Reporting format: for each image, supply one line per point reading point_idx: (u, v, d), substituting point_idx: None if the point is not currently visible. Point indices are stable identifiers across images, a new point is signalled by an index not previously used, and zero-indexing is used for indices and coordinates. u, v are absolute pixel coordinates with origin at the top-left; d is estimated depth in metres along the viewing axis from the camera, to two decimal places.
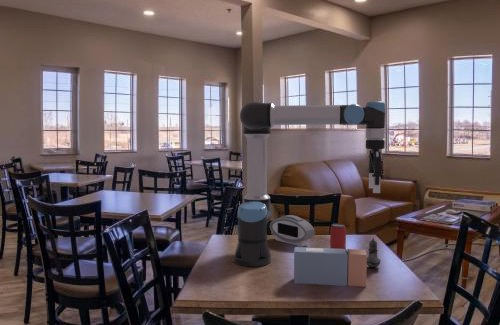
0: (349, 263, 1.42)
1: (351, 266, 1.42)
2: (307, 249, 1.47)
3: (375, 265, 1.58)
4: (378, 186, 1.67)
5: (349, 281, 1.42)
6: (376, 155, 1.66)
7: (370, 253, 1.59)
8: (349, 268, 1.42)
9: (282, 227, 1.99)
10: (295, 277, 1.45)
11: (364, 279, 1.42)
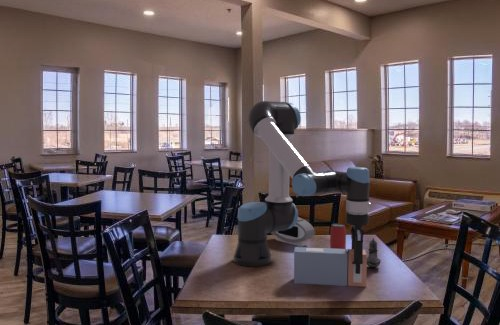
0: (349, 263, 1.42)
1: (351, 266, 1.42)
2: (307, 249, 1.47)
3: (375, 265, 1.58)
4: (359, 275, 1.41)
5: (349, 281, 1.42)
6: (358, 239, 1.37)
7: (370, 253, 1.59)
8: (349, 268, 1.42)
9: None
10: (295, 277, 1.45)
11: (364, 279, 1.42)
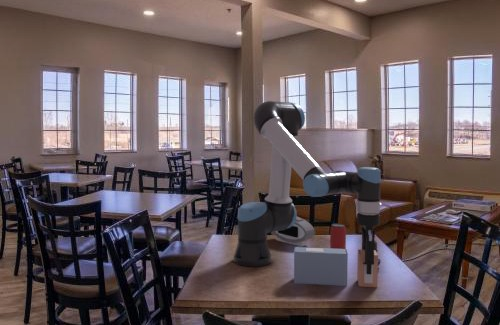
0: (360, 263, 1.41)
1: (362, 267, 1.41)
2: (307, 249, 1.47)
3: None
4: (370, 275, 1.40)
5: (360, 282, 1.42)
6: (369, 239, 1.37)
7: None
8: (360, 269, 1.41)
9: None
10: (295, 277, 1.45)
11: (375, 280, 1.41)
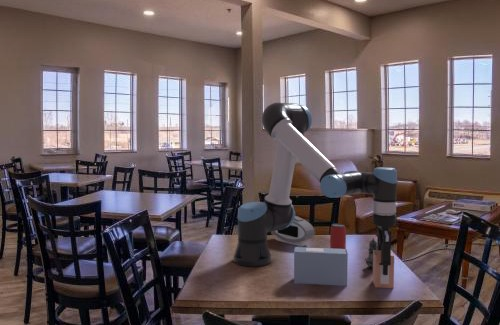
0: (376, 264, 1.41)
1: (378, 267, 1.41)
2: (307, 249, 1.47)
3: None
4: (386, 276, 1.40)
5: (376, 282, 1.41)
6: (386, 240, 1.36)
7: (370, 253, 1.59)
8: (376, 269, 1.41)
9: None
10: (295, 277, 1.45)
11: (391, 280, 1.40)
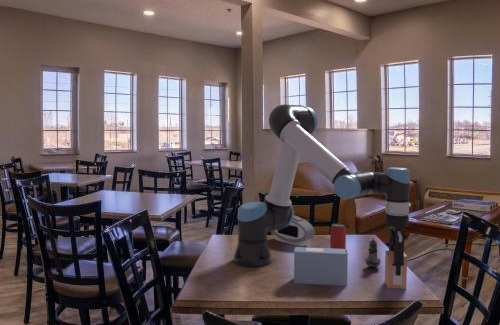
0: (389, 265, 1.40)
1: (391, 268, 1.40)
2: (307, 249, 1.47)
3: (375, 265, 1.58)
4: (399, 277, 1.39)
5: (389, 283, 1.40)
6: (399, 241, 1.35)
7: (370, 253, 1.59)
8: (389, 270, 1.40)
9: None
10: (295, 277, 1.45)
11: (404, 281, 1.40)
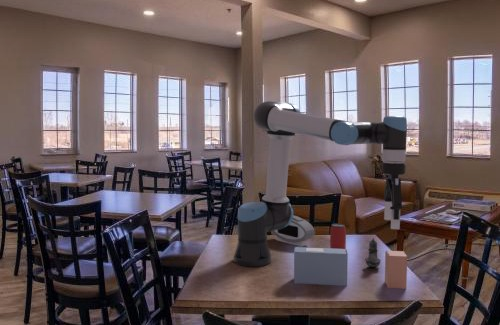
0: (389, 265, 1.40)
1: (391, 268, 1.40)
2: (307, 249, 1.47)
3: (375, 265, 1.58)
4: (397, 221, 1.36)
5: (389, 283, 1.40)
6: (395, 183, 1.35)
7: (370, 253, 1.59)
8: (389, 270, 1.40)
9: None
10: (295, 277, 1.45)
11: (404, 281, 1.40)
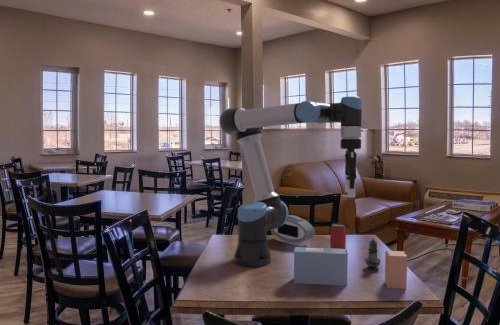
0: (389, 265, 1.40)
1: (391, 268, 1.40)
2: (307, 249, 1.47)
3: (375, 265, 1.58)
4: (353, 190, 1.51)
5: (389, 283, 1.40)
6: (351, 156, 1.51)
7: (370, 253, 1.59)
8: (389, 270, 1.40)
9: (282, 227, 1.99)
10: (295, 277, 1.45)
11: (404, 281, 1.40)
